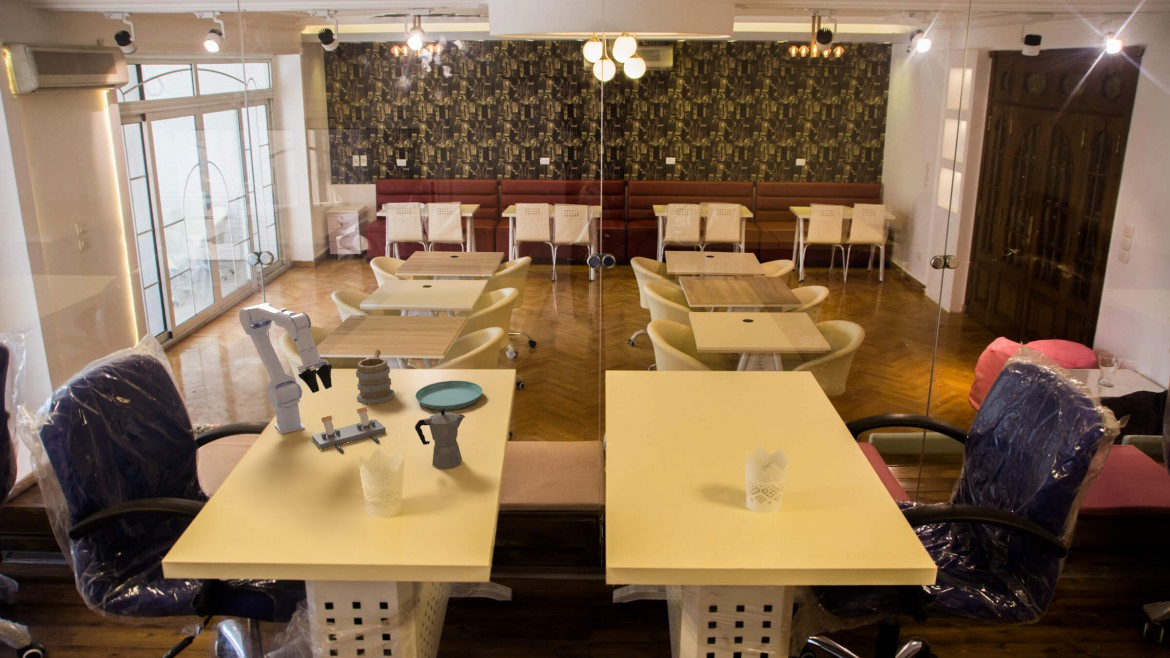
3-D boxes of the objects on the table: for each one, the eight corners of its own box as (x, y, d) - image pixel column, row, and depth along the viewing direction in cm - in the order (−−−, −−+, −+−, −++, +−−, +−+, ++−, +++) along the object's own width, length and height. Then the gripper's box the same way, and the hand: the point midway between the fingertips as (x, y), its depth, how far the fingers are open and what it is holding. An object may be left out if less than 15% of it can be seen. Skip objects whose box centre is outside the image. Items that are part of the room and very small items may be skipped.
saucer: (406, 412, 318) (405, 403, 317) (428, 387, 341) (428, 379, 340) (472, 414, 314) (471, 405, 313) (490, 389, 337) (489, 381, 336)
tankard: (389, 403, 326) (385, 364, 321) (354, 404, 326) (350, 365, 321) (400, 384, 345) (396, 347, 340) (368, 385, 345) (363, 348, 341)
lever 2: (361, 428, 300) (356, 409, 301) (370, 426, 302) (365, 407, 303) (362, 427, 299) (357, 409, 300) (371, 425, 300) (366, 406, 301)
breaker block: (312, 440, 296) (311, 430, 295) (376, 424, 307) (375, 414, 306) (327, 457, 284) (326, 446, 282) (393, 439, 295) (392, 429, 294)
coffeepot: (464, 453, 283) (460, 400, 278) (471, 465, 274) (467, 410, 269) (416, 462, 278) (410, 408, 273) (421, 474, 270) (416, 419, 264)
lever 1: (326, 437, 294) (321, 418, 295) (335, 434, 296) (330, 416, 297) (327, 436, 293) (322, 417, 293) (336, 434, 294) (331, 415, 295)
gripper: (305, 349, 279) (320, 389, 279) (329, 343, 293) (344, 382, 293) (286, 356, 281) (302, 397, 281) (312, 350, 295) (326, 389, 295)
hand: (322, 390), depth 287 cm, fingers open, 7 cm apart
